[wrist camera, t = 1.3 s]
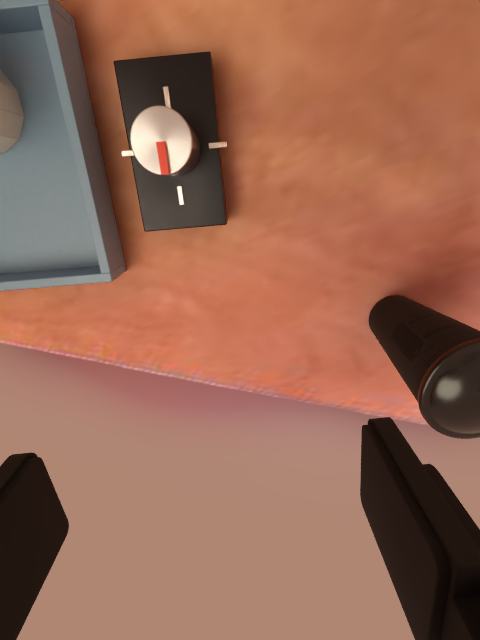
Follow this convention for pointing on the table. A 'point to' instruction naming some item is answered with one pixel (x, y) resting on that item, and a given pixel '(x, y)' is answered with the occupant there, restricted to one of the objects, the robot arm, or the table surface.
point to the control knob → (164, 142)
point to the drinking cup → (433, 362)
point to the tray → (52, 159)
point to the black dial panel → (201, 114)
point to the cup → (9, 114)
